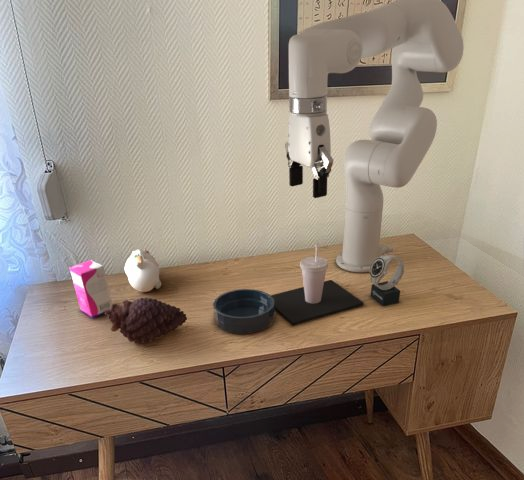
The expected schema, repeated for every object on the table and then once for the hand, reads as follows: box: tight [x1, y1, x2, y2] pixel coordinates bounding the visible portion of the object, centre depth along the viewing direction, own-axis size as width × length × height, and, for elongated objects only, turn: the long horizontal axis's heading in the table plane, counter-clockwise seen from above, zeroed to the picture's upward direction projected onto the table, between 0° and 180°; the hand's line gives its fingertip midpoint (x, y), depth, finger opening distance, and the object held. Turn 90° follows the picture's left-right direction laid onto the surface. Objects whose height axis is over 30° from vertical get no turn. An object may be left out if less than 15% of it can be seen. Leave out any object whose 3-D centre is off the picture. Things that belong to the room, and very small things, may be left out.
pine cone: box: [104, 296, 188, 345], centre depth 112 cm, size 18×10×10 cm
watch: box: [368, 253, 405, 307], centre depth 122 cm, size 6×8×11 cm
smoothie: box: [299, 243, 329, 304], centre depth 121 cm, size 6×6×14 cm
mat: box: [270, 279, 364, 327], centre depth 125 cm, size 19×14×1 cm
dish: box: [212, 288, 276, 335], centre depth 118 cm, size 14×14×4 cm
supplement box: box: [69, 259, 113, 319], centre depth 122 cm, size 6×6×12 cm
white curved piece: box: [124, 248, 162, 293], centre depth 133 cm, size 10×8×15 cm
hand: (307, 190), depth 115 cm, fingers open, 9 cm apart
